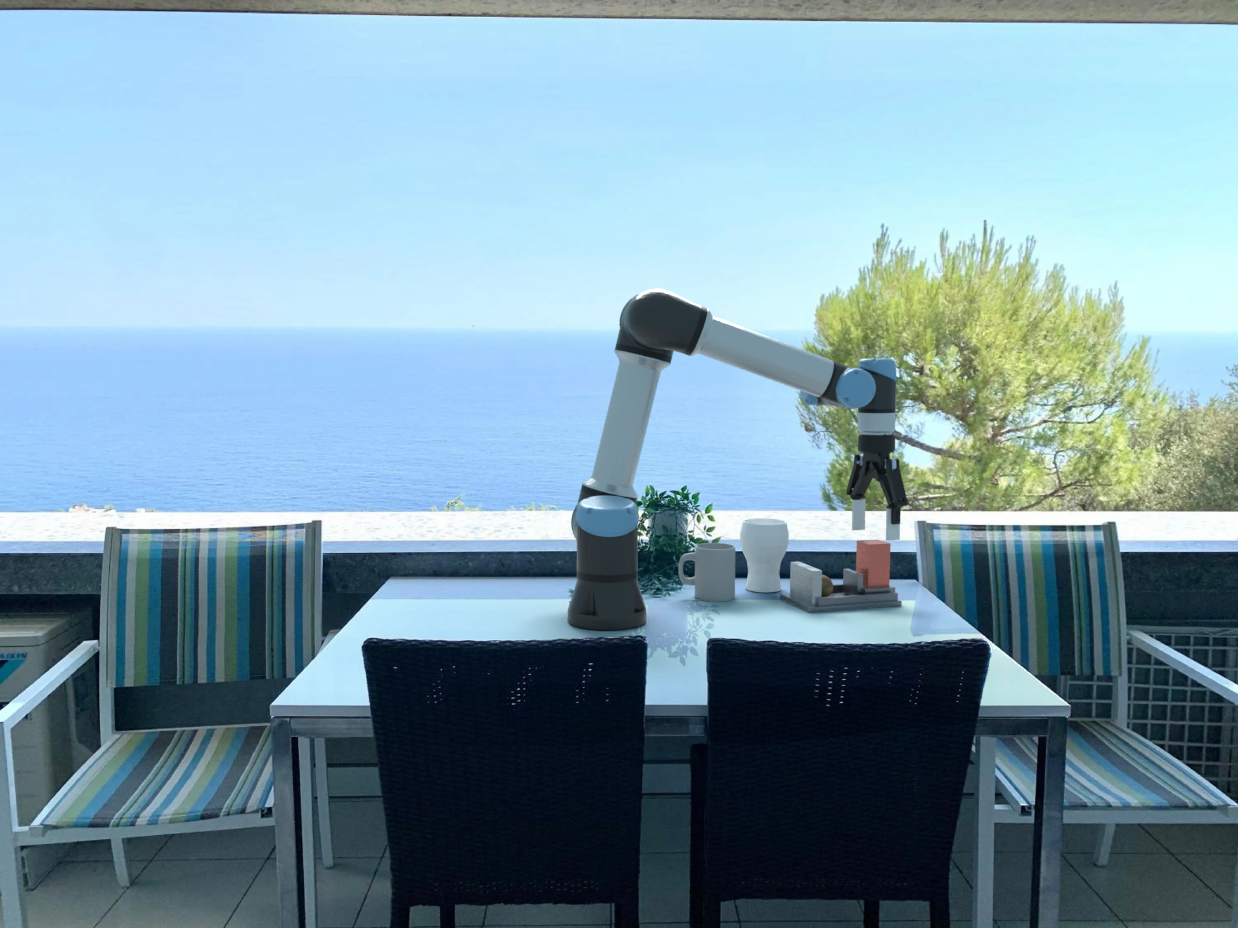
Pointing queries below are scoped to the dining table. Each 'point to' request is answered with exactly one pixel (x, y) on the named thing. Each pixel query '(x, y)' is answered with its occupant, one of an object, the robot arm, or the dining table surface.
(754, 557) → the cup
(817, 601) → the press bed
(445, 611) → the dining table surface
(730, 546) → the mug
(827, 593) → the nut
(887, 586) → the block
